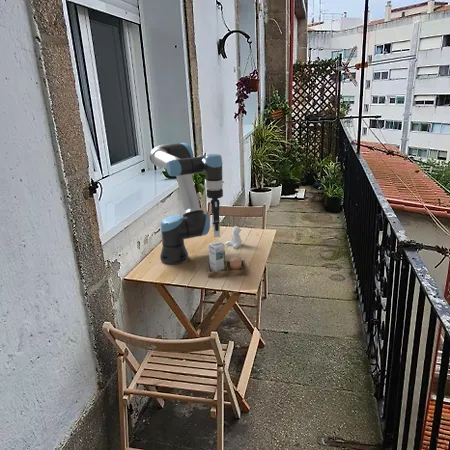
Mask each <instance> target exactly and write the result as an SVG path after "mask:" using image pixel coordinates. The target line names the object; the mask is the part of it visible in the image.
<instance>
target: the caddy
mask: <svg viewBox="0 0 450 450" xmlns="http://www.w3.org/2000/svg"><path fill="white" fill-rule="evenodd" d="M206 266H207V267H206V269H207V278H221V277H222V278H224V277H236V276H237V277H238V276H248V267H247V265H246V261H245V259H241V270H232V271H230V260H225V268H226V271H216V272H212V271H210V261H209V262H207V263H206Z"/></svg>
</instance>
